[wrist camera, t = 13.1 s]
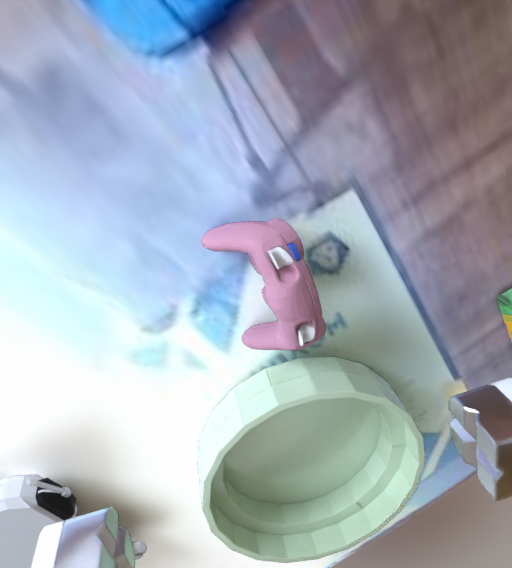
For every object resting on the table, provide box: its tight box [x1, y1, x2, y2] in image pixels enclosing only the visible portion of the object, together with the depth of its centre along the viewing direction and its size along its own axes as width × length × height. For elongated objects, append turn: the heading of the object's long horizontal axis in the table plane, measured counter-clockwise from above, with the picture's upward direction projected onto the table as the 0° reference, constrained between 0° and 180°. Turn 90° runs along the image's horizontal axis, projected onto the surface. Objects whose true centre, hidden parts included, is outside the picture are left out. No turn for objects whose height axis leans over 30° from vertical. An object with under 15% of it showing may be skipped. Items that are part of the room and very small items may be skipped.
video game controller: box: [201, 218, 326, 350], centre depth 32 cm, size 10×5×7 cm, turn 19°
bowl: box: [197, 357, 425, 563], centre depth 40 cm, size 18×18×5 cm
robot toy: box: [0, 475, 147, 568], centre depth 38 cm, size 12×4×15 cm
